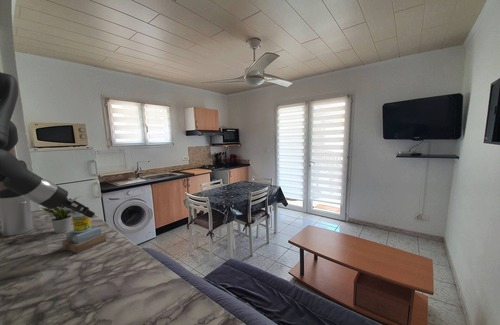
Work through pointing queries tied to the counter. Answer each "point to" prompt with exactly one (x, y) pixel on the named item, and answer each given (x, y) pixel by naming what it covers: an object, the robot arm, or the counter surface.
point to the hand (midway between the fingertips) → (86, 214)
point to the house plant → (60, 219)
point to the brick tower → (83, 239)
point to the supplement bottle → (81, 222)
